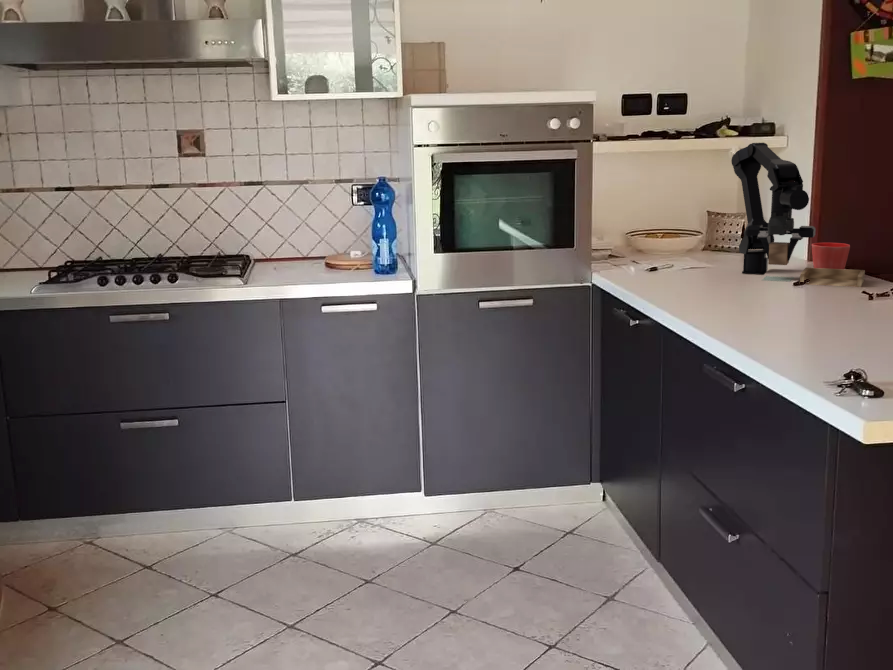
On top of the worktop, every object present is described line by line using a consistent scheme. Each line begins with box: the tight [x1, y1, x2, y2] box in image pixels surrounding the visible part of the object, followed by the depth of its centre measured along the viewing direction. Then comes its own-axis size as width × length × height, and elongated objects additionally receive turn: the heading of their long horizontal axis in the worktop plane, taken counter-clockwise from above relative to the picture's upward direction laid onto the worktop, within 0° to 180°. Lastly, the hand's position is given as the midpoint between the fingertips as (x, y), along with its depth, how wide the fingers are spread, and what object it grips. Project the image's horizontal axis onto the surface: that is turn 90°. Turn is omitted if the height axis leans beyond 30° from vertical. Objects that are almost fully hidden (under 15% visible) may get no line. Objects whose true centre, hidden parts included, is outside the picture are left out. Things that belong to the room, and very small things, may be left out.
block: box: [768, 241, 790, 266], centre depth 266 cm, size 5×5×6 cm
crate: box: [799, 267, 866, 288], centre depth 260 cm, size 16×12×4 cm
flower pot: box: [811, 242, 851, 269], centre depth 272 cm, size 11×11×10 cm
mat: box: [761, 275, 795, 283], centre depth 268 cm, size 8×8×1 cm
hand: (778, 260), depth 267 cm, fingers closed on block, 5 cm apart
